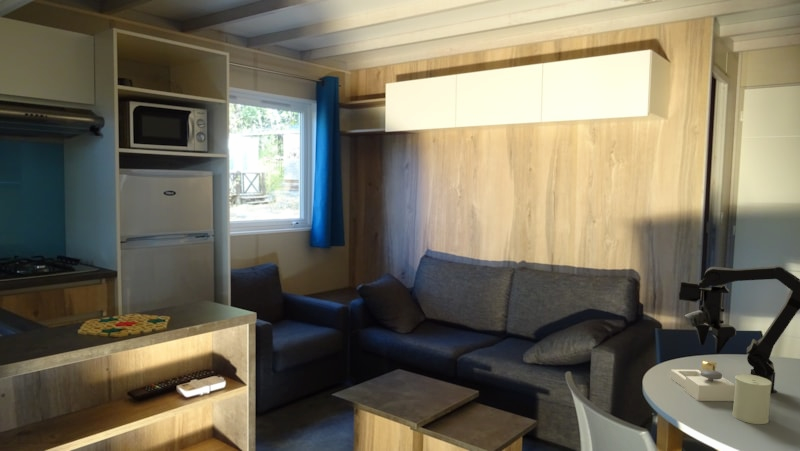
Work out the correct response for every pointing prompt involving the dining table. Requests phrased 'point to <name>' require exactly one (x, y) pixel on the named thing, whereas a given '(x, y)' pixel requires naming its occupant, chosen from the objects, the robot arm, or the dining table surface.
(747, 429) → the dining table surface
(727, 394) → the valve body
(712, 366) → the brass cylinder
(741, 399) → the can
